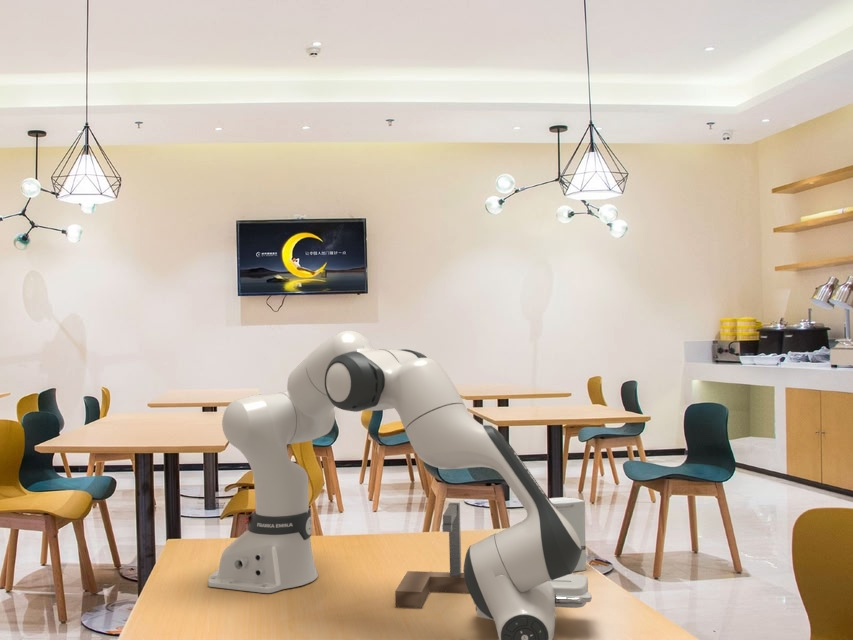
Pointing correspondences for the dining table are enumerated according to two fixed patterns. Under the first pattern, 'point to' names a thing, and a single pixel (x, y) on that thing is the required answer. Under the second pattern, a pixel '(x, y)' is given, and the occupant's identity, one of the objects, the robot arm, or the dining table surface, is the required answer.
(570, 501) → the skincare box
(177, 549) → the dining table surface
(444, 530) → the hook arm
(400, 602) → the cutout shelf
